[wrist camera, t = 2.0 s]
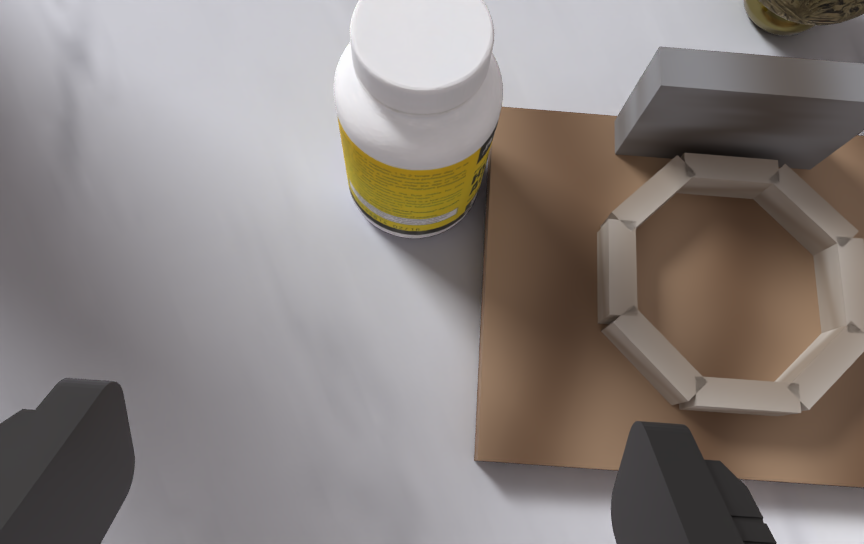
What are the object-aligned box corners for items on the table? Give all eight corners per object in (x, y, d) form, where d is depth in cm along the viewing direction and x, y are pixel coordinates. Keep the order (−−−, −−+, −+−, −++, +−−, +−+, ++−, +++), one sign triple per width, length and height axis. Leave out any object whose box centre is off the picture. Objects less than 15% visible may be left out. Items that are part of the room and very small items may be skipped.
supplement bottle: (485, 237, 27) (530, 113, 17) (351, 245, 26) (322, 122, 17) (473, 118, 28) (508, -56, 19) (346, 124, 28) (317, -50, 19)
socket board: (474, 460, 24) (497, 457, 18) (489, 120, 28) (512, 28, 22) (956, 494, 25) (1131, 502, 19) (903, 153, 29) (1034, 71, 23)
